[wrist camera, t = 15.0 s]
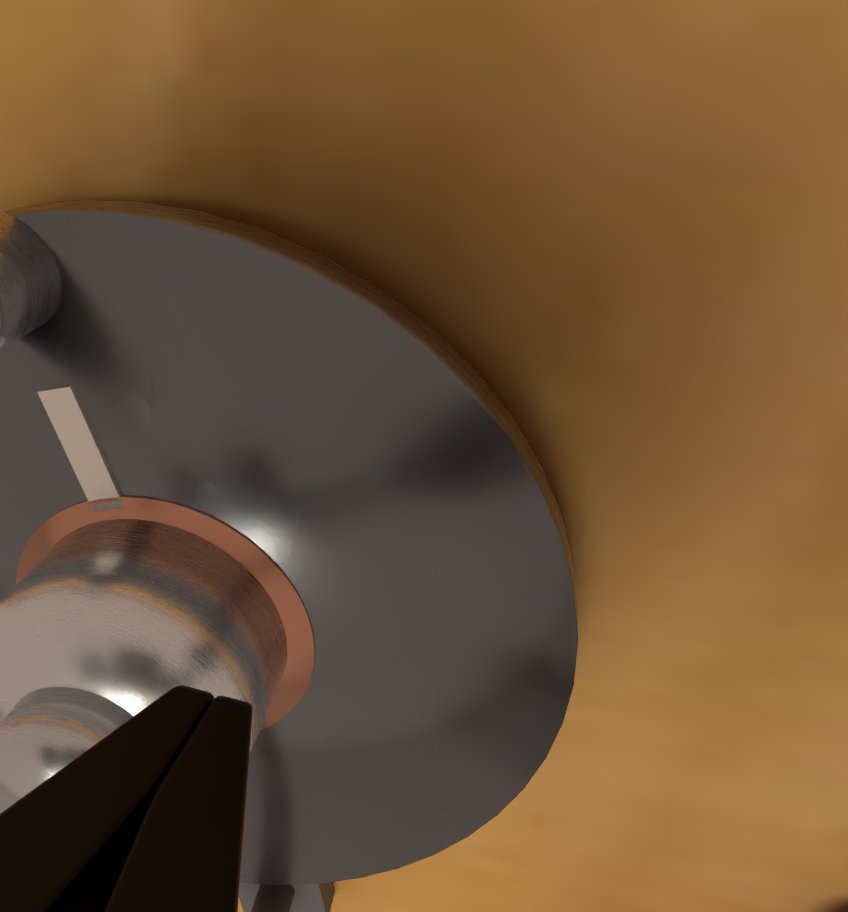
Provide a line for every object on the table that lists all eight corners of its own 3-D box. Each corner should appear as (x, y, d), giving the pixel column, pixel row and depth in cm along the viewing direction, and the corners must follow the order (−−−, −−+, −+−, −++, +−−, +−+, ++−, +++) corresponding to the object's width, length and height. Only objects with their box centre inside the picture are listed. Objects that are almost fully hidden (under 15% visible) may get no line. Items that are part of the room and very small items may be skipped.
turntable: (618, 845, 23) (630, 1011, 19) (22, 852, 27) (-64, 986, 24) (498, 88, 14) (474, 114, 10) (-355, 281, 19) (-591, 350, 15)
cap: (129, 468, 17) (-14, 618, 13) (340, 648, 19) (275, 834, 15) (-9, 609, 20) (-164, 771, 16) (186, 755, 22) (93, 939, 18)
